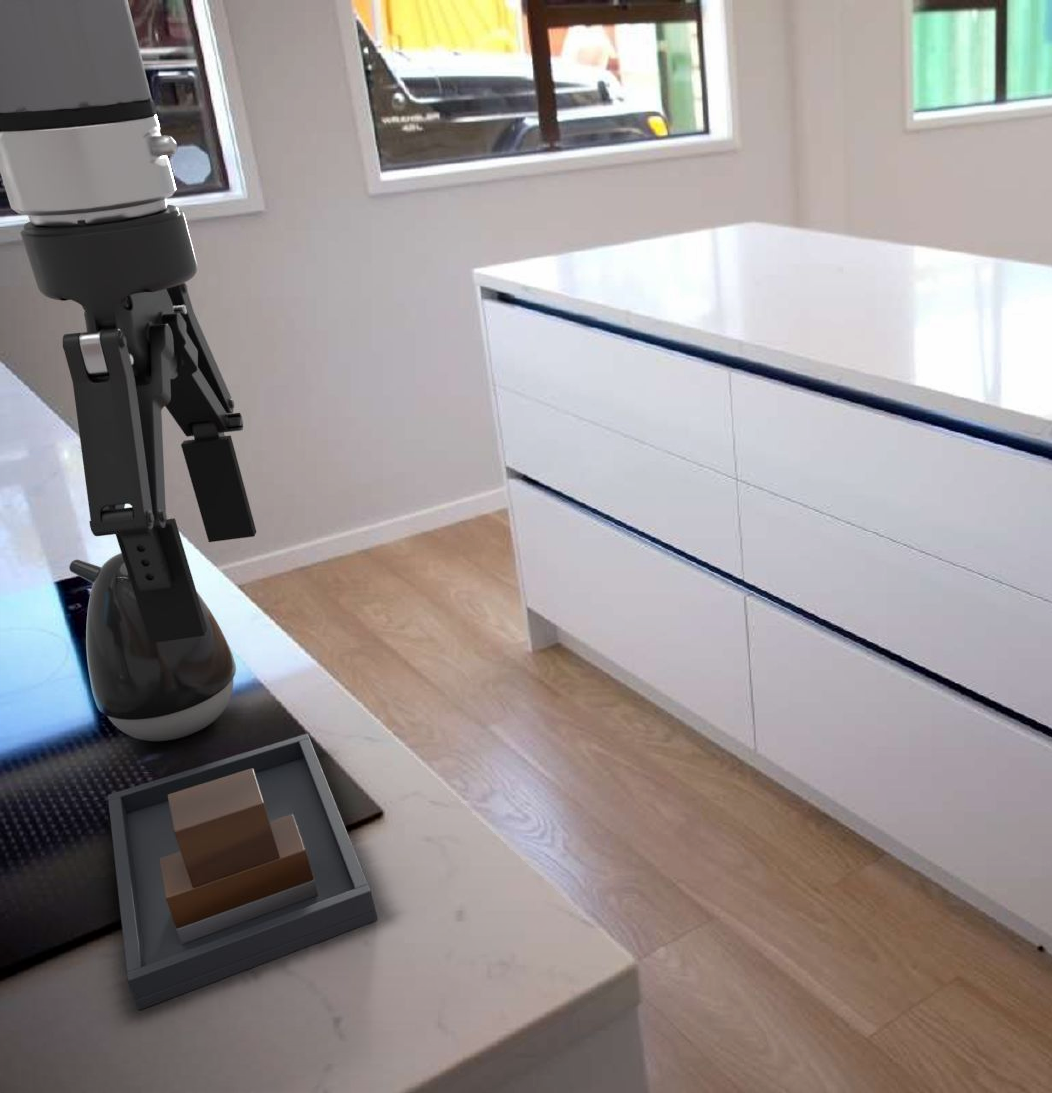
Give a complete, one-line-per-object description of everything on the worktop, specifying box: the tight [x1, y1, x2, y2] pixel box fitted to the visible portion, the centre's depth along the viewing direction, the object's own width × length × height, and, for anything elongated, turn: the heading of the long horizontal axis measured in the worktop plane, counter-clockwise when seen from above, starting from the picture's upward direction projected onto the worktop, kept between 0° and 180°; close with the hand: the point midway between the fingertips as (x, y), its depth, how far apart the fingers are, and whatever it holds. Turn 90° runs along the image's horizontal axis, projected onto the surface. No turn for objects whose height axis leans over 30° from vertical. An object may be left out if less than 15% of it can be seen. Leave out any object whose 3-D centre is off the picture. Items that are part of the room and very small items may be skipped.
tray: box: [107, 733, 379, 1011], centre depth 83 cm, size 22×14×2 cm, turn 31°
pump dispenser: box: [68, 552, 237, 742], centre depth 98 cm, size 10×10×15 cm
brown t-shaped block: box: [160, 768, 318, 944], centre depth 77 cm, size 4×8×8 cm, turn 120°
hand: (208, 583), depth 72 cm, fingers open, 13 cm apart
